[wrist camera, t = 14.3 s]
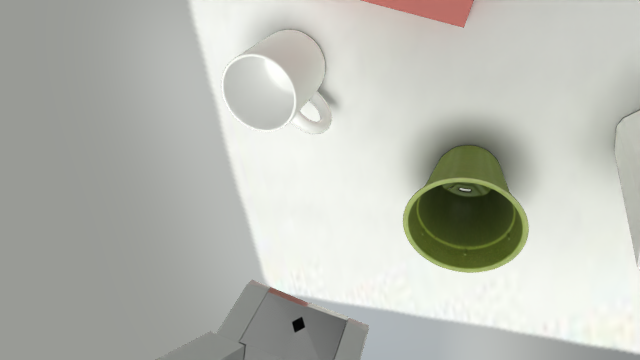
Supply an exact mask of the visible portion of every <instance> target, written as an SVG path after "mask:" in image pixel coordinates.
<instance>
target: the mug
mask: <svg viewBox="0 0 640 360" xmlns="http://www.w3.org/2000/svg"><path fill="white" fill-rule="evenodd" d="M324 76H325V60H324V57H323V54H322V52H321V50H320V48H319V46H318V45H317V44H316V43H315V41H314V40H313V39H311V38H310V37H309V36H308V35H306V34H304V33H302V32H299V31H296V30H282V31H279V32H276V33H274V34H272V35H270V36H269V37H267V38H265V39H264V40H262V41H261V42H259V43H258V44H256V45H254V46H253V47H251V48H250V49H248V50H247V51H245V52H243V53H242V54H240V55H239V56H237V57H236V58H234V59H233V60H232V61H230V63H229V64H228V65H227V66H226V68H225V70H224V72H223V75H222V80H221V90H222V95H223V99H224V102H225V104H226V106H227V108H228V109H229V111H230V112H231V114H232V115H233V116H234V117H235V118H236V119H237V120H238V121H239V122H240V123H242V124H243V125H245V126H247V127H248V128H250V129H253V130H256V131H260V132H272V131H277V130H279V129H281V128H283V127H285V126H286V125H287V124H288V123H289V122H290V123H291V124H292V125H294V126H295V127H297V128H298V129H300V130H302V131H304V132H306V133H309V134H321V133H323V132H325V131H326V130H327V129H328V128H329V127H330V125H331V121H332V114H331V111H330V108H329V106H328V104H327V103H326V101H325V100H324V98H323V97H322V96H321V95H320V94H319V93H318V92H317V90H318V89H319V87H320V85H321V84H322V81H323V79H324ZM308 100H309V101H310V102H311V103H312V104H313V105H314V106H315V107H316V109H317V110H318V111H319V114H320V121H318V122H315V121H311V120H309V119H308V118H306V117H305V116H304V115H303V114H302V113H301V112H300V109H301V108H302V107H303V106H304V105H305V104H306V103H307V102H308Z"/></svg>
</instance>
